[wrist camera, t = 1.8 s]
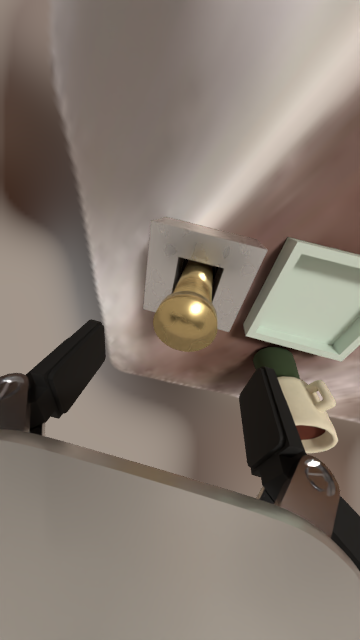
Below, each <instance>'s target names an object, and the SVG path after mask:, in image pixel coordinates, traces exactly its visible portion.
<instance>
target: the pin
mask: <svg viewBox="0 0 360 640" xmlns="http://www.w3.org/2000/svg"><path fill="white" fill-rule="evenodd" d="M212 279H213V265H209V264H205V263H201V262H197V261H193V260H189V261H188V263H187V265H186V267H185V269H184V271H183V273H182V275H181V277H180V279H179V282H178V284H177V286H176V288H175V290H174V292H173V293H172V294H170V295H168V296H167V297H166V298H164V299H163V301H162V302H161V304H160V305H159V307H158V309H157V311H156V313H155V315H154V319H153V326H154V330H155V332H156V334H157V336H158V337H159V339H160V340H161V341H162V342H163V343H165V344H166V345H167V346H169V347H171V348H173V349H176V350H179V351H185V352H192V351H198V350H201V349H203V348H205V347H207V346H208V345H210V344H211V343H212V342H213V340H214V339H215V337H216V334H217V312H216V309H215V308H214V306H213V304H212V303H211V299H212Z"/></svg>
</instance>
